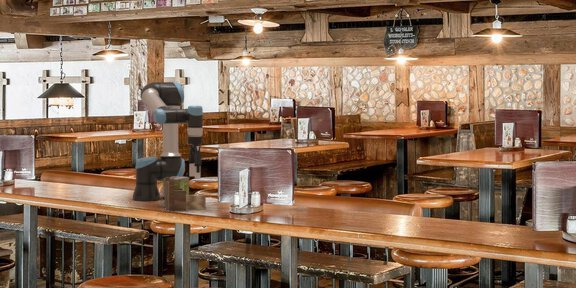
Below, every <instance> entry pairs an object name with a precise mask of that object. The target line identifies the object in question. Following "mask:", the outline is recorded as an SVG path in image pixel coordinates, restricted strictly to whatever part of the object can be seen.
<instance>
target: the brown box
mask: <svg viewBox="0 0 576 288" xmlns="http://www.w3.org/2000/svg"><path fill="white" fill-rule="evenodd" d="M165 208H166V211H168V210H169V211H168V212H186V211H187V210H186V191H185V190H182V188H174V179H170V177H165V206H164V209H165Z"/></svg>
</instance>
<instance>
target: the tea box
mask: <svg viewBox="0 0 576 288" xmlns="http://www.w3.org/2000/svg"><path fill="white" fill-rule="evenodd" d="M170 179H174V188H182V190H185V191H186V195H190V176H182V177H170ZM161 204H162V205H161V206H162V207H165V178H164V179H163V180H162V203H161Z"/></svg>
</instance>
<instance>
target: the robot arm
mask: <svg viewBox="0 0 576 288" xmlns="http://www.w3.org/2000/svg"><path fill="white" fill-rule="evenodd" d="M140 99H141V101H142V102H143V104H145V105H146V106H148V108H149V109H150V110H151V111H152V112H153V113H152V115H153V116H152V117H153V122H154V123H155V124H161V125H162V153H161V154H160V156H159V158H158V156H145V157H142V158H138V159H136V161H135V168H134V169H135V186H134V190H133V193H132V200H133V201H138V202H139V201H140V202H141V201H142V202H152V201H160V200H161V193H160V191H159V187H158V181H163V179H164V178H165V177H184V173H185V168H186V163H185V160H184V158H182V155H181V154H180V152H179V124H182V125H183V124H187V129H186V131H187V144H188V145H189V152H188V153H189V154H188V163H189V168H188V169H189V171H188V172H189V174H188V175H189V176H188V177H194V180H201V168H202V167H201V166H202V164H203V163H202V154H201V146H199V145H202V144H203V134H204V133H203V131H204V130H203V120H204V118H203V115H204V110H203V106H202V105H189V106H188V107H187V108H181V106H182V104H184V101H185V92H184V87H183V85H182V84H181V83H179V82H174V81H167V82H166V81H153V82H149V83H147V84H145V85H144V86H143V87H142V89H141V91H140Z"/></svg>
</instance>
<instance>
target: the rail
mask: <svg viewBox="0 0 576 288" xmlns="http://www.w3.org/2000/svg"><path fill="white" fill-rule="evenodd" d="M206 196H207V195H206V194H203V193H202V194H189V195H186V211H188V210H190V211H191V210H192V209H195V210H206V205H207V203H206Z"/></svg>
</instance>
